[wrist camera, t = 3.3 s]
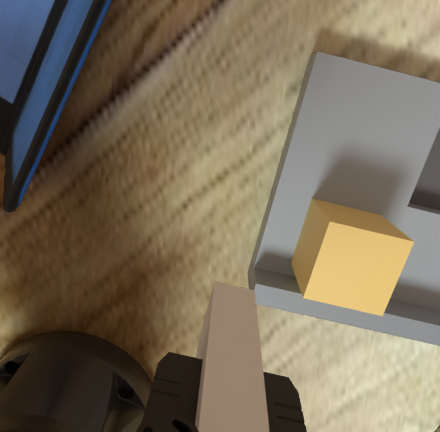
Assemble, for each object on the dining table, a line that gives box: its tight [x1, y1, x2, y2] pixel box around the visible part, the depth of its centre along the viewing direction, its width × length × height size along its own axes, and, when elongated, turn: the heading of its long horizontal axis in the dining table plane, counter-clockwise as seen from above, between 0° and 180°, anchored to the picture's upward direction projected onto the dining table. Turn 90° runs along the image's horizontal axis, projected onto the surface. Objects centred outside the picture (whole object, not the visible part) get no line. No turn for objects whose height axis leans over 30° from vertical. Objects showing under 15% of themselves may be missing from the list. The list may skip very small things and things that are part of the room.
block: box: [291, 199, 414, 316], centre depth 24 cm, size 5×5×5 cm
